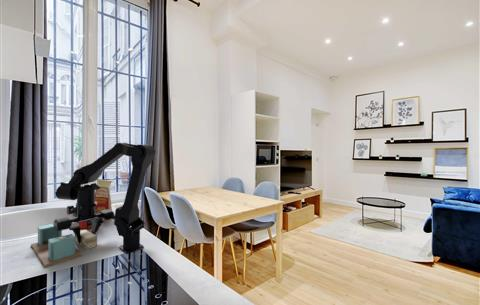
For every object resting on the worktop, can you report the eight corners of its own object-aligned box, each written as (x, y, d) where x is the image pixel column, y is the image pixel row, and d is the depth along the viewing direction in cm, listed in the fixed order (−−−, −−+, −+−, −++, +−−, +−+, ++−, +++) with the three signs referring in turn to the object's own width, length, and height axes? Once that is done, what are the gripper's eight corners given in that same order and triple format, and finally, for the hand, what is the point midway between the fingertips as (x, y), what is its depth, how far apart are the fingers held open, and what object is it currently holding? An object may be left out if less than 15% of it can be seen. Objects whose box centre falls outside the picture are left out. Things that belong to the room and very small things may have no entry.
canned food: (90, 230, 100) (90, 206, 100) (72, 229, 100) (72, 205, 100) (101, 224, 108) (101, 201, 107) (84, 223, 108) (84, 200, 107)
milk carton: (91, 220, 112) (91, 180, 111) (93, 215, 120) (93, 177, 119) (112, 218, 116) (112, 179, 115) (113, 213, 124) (113, 176, 123)
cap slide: (75, 254, 78) (75, 235, 78) (51, 261, 73) (51, 241, 73) (71, 250, 80) (71, 232, 80) (48, 257, 75) (48, 238, 75)
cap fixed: (61, 240, 88) (61, 224, 88) (40, 245, 83) (39, 229, 83) (59, 237, 90) (59, 222, 90) (37, 242, 85) (37, 226, 85)
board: (82, 255, 79) (82, 253, 79) (44, 267, 71) (44, 265, 71) (64, 237, 92) (64, 235, 92) (31, 246, 84) (31, 243, 84)
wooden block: (97, 246, 87) (97, 235, 87) (86, 249, 84) (86, 238, 84) (84, 239, 92) (84, 229, 92) (74, 242, 89) (74, 232, 89)
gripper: (104, 193, 99) (103, 228, 100) (49, 201, 85) (49, 242, 86) (115, 198, 92) (114, 235, 93) (57, 207, 78) (57, 252, 79)
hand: (85, 240), depth 88 cm, fingers open, 4 cm apart
